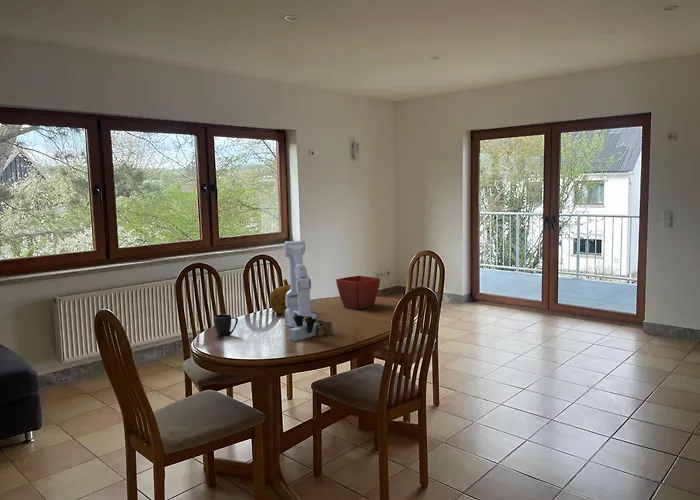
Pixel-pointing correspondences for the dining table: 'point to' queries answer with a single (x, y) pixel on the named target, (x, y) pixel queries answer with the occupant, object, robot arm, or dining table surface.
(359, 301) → the plant pot
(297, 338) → the rail
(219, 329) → the mug
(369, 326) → the dining table surface
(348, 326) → the dining table surface
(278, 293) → the decorative pumpkin
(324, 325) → the plank with two pegs
